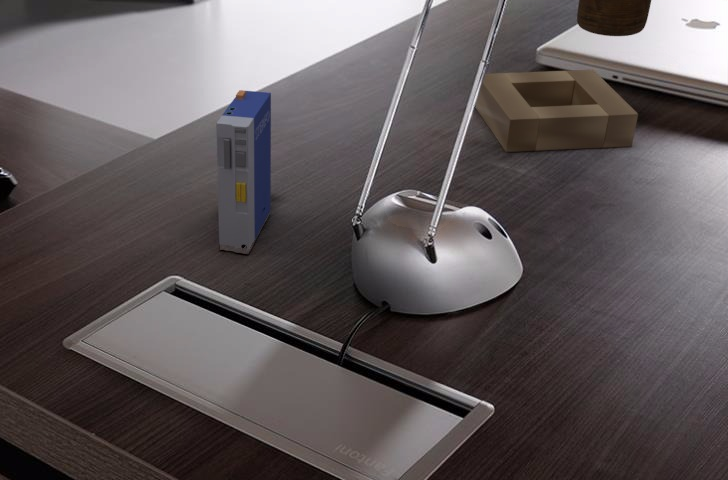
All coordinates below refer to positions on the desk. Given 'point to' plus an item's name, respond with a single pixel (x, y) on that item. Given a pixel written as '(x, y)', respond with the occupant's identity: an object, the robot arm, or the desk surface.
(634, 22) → the utensil holder
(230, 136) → the blue grey plc module
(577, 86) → the socket pad
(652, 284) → the desk surface
